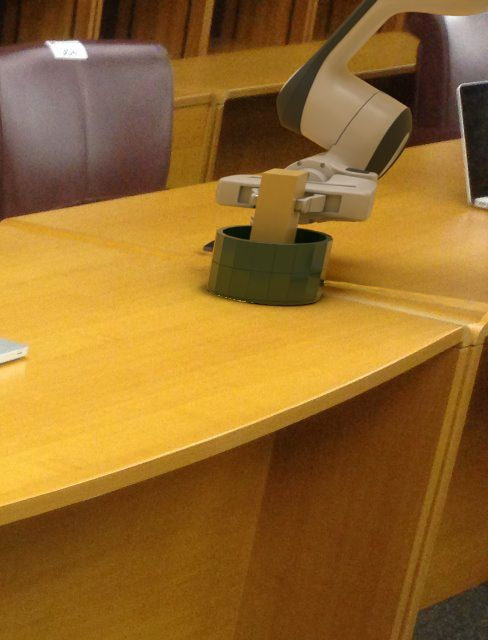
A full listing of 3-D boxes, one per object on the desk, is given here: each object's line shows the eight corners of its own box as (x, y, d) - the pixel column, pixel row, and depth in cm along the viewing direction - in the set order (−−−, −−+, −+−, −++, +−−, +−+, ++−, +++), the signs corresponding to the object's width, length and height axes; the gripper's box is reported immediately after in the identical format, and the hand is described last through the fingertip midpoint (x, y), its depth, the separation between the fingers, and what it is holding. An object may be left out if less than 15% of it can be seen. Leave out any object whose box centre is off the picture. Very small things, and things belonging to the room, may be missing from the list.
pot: (333, 291, 212) (346, 232, 208) (301, 310, 201) (314, 248, 198) (227, 277, 220) (237, 220, 216) (190, 295, 210) (201, 235, 206)
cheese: (293, 247, 209) (308, 171, 204) (281, 253, 205) (297, 175, 201) (259, 243, 211) (274, 168, 207) (247, 249, 208) (262, 172, 203)
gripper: (237, 160, 219) (204, 172, 209) (390, 174, 207) (362, 186, 198) (229, 206, 222) (196, 219, 212) (380, 222, 210) (351, 236, 201)
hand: (277, 203), depth 205 cm, fingers closed on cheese, 4 cm apart
